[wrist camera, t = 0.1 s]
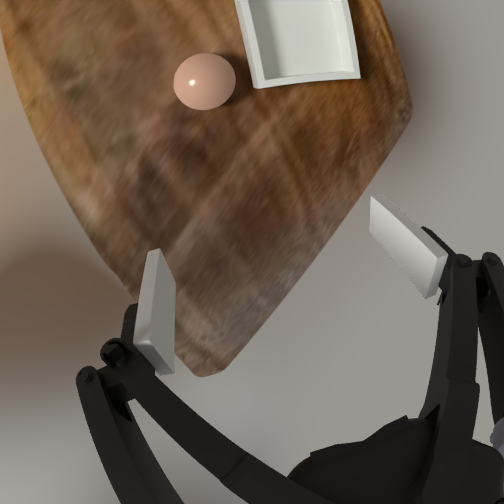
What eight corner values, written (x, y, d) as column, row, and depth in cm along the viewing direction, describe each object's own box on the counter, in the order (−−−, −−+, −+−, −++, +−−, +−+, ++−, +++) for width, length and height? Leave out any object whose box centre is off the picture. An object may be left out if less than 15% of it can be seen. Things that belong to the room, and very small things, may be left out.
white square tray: (233, -4, 26) (236, -12, 23) (332, -8, 27) (344, -14, 24) (253, 87, 35) (258, 88, 32) (347, 77, 36) (360, 78, 33)
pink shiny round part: (169, 63, 31) (167, 62, 29) (226, 49, 31) (229, 47, 29) (182, 114, 36) (181, 117, 34) (238, 100, 36) (241, 102, 34)
